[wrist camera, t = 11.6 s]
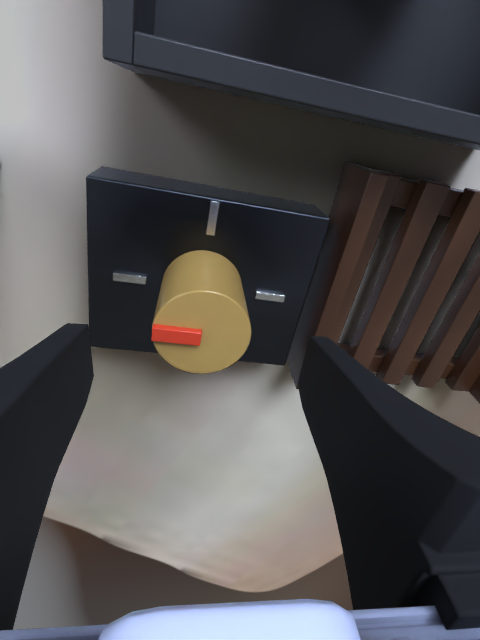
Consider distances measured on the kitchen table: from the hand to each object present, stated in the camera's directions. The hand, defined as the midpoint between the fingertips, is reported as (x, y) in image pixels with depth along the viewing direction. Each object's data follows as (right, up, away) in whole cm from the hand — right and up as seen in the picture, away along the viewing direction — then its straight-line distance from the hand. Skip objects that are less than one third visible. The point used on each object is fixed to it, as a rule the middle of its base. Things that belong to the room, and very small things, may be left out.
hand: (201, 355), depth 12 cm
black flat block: (-1, +4, +7) cm, 8 cm away
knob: (0, +3, +5) cm, 5 cm away
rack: (+11, +3, +9) cm, 14 cm away
